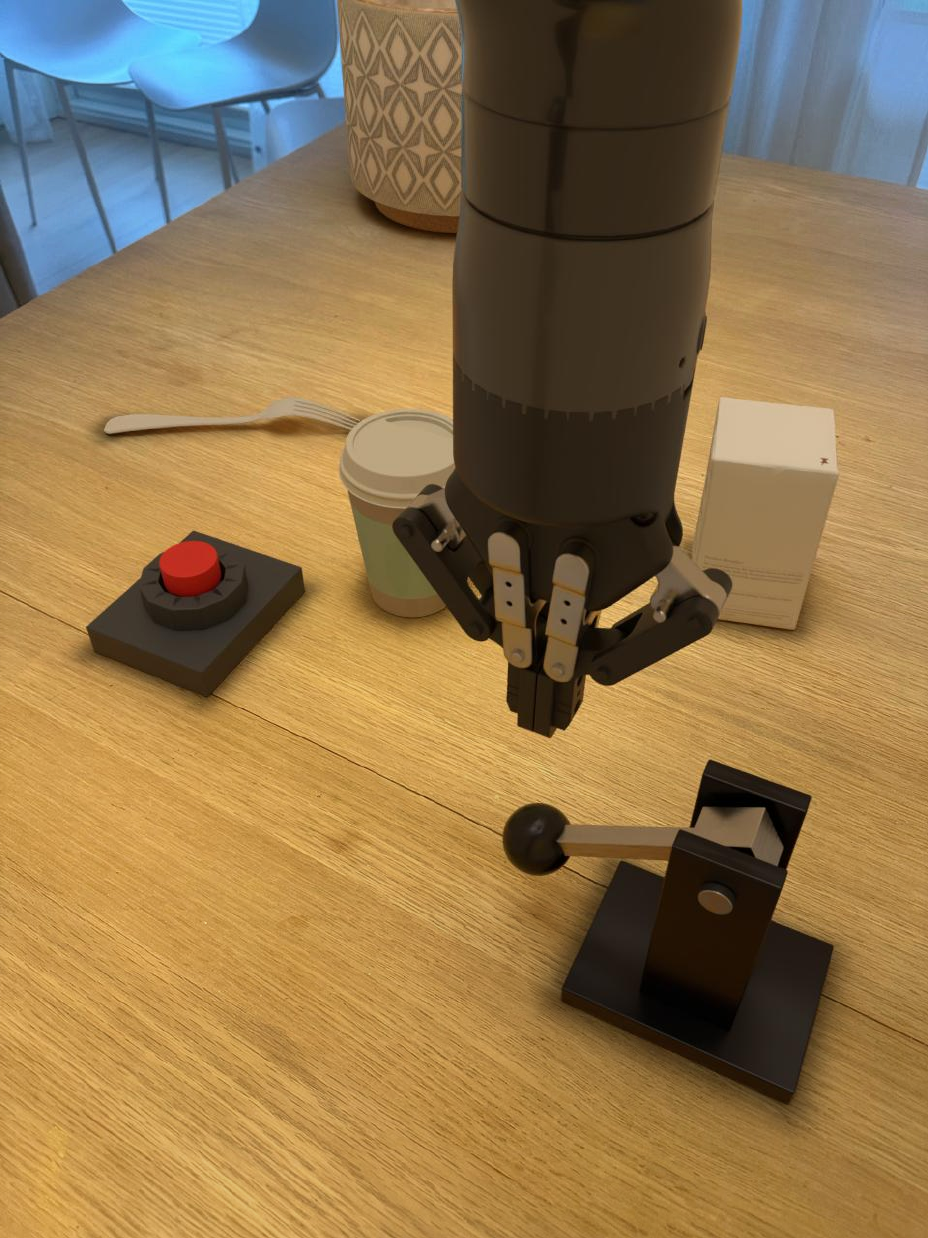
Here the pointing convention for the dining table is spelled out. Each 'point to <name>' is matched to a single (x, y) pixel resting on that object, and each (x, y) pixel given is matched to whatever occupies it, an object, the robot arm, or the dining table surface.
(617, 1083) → the dining table surface
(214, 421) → the fork
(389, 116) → the planter
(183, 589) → the button
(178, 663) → the button block
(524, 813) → the lever
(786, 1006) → the bracket
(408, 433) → the coffee cup
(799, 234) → the dining table surface
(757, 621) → the white packaging box
